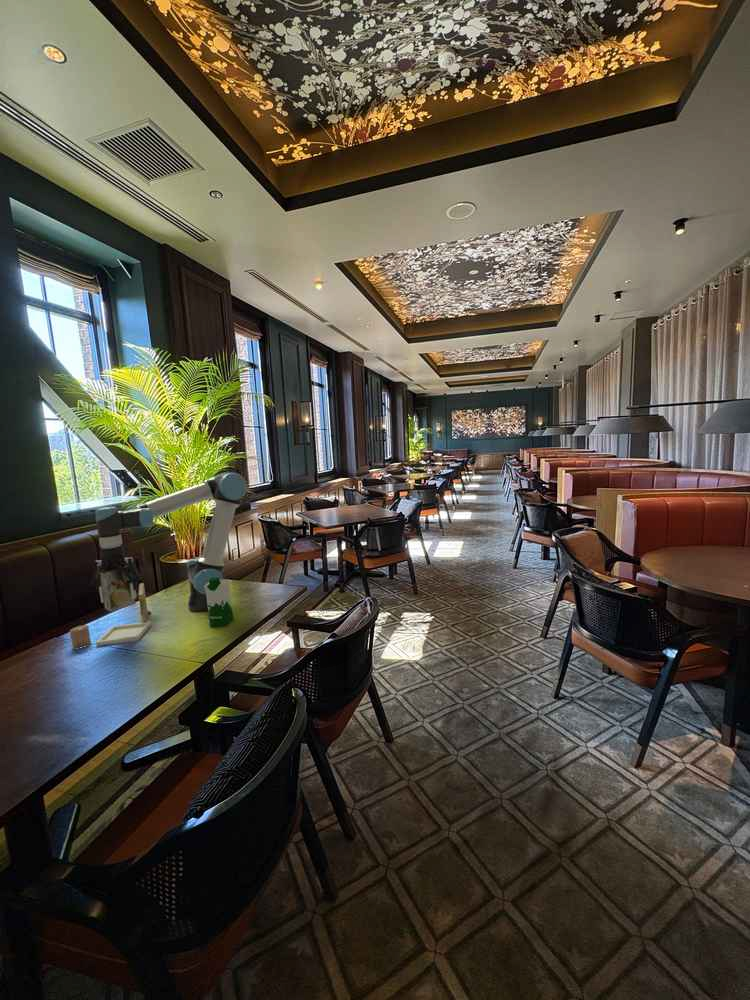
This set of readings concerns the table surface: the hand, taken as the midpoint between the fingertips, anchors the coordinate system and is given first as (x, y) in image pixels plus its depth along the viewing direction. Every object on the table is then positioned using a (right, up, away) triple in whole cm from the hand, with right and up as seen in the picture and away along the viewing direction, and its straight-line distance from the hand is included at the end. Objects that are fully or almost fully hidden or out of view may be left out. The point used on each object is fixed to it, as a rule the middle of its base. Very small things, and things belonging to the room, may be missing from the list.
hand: (119, 599), depth 168 cm
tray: (+1, -15, +2) cm, 15 cm away
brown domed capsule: (-12, -17, -5) cm, 21 cm away
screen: (0, -13, +18) cm, 23 cm away
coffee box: (0, -3, 0) cm, 3 cm away
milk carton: (+39, -12, +8) cm, 41 cm away
